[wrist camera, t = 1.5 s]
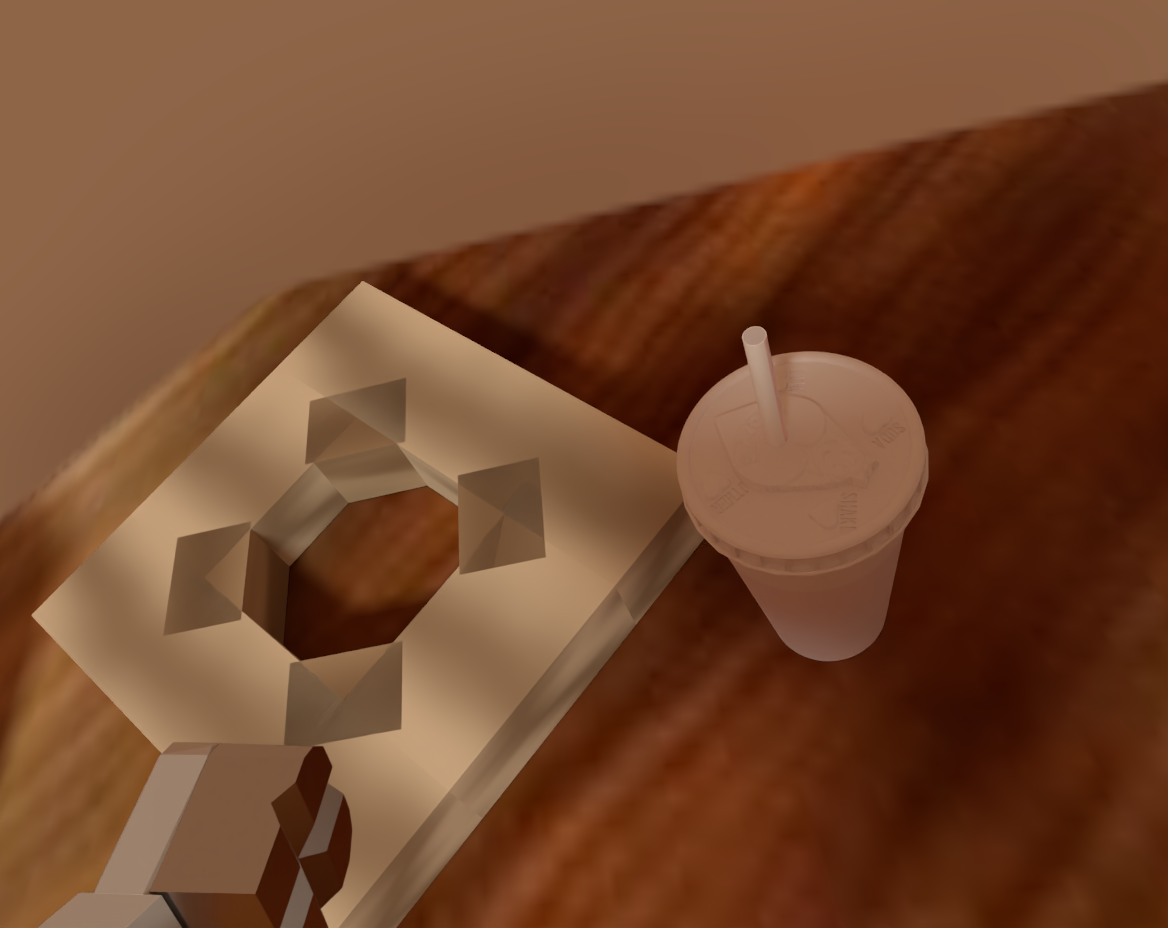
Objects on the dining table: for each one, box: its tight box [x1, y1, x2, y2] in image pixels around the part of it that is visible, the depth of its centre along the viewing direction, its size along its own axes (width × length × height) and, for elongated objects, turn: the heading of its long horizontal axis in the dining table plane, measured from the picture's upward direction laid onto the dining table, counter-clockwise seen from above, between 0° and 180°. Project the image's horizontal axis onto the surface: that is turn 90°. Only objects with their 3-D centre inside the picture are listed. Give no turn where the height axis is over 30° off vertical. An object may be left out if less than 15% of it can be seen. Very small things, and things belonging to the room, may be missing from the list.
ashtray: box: [31, 281, 704, 928], centre depth 40 cm, size 18×18×3 cm
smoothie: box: [676, 326, 928, 661], centre depth 30 cm, size 6×6×14 cm
